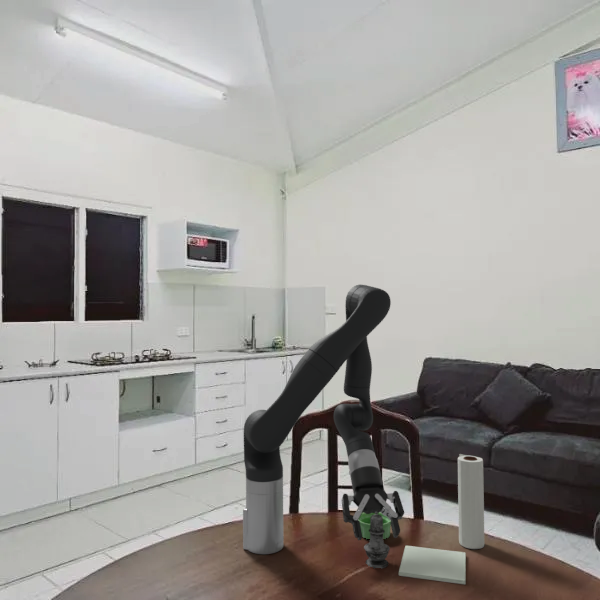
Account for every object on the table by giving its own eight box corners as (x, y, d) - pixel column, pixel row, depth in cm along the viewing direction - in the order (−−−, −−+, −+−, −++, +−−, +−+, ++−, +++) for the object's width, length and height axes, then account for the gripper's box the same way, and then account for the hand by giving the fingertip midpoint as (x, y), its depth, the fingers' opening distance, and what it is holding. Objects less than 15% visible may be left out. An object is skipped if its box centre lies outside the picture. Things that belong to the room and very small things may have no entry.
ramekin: (353, 529, 144) (353, 512, 144) (386, 527, 145) (386, 510, 145) (361, 543, 135) (361, 525, 135) (396, 541, 136) (396, 523, 136)
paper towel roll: (483, 551, 130) (482, 462, 130) (457, 547, 132) (456, 459, 132) (485, 539, 136) (484, 454, 137) (460, 536, 139) (459, 452, 139)
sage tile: (398, 575, 118) (398, 571, 118) (405, 548, 132) (405, 545, 132) (465, 584, 114) (465, 580, 114) (465, 555, 127) (465, 552, 127)
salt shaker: (389, 570, 121) (388, 516, 121) (363, 568, 122) (362, 514, 122) (390, 558, 126) (389, 507, 127) (365, 556, 128) (364, 505, 128)
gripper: (339, 466, 131) (350, 532, 119) (395, 463, 133) (412, 528, 121) (334, 481, 136) (345, 546, 125) (389, 478, 138) (404, 542, 127)
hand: (378, 537), depth 123 cm, fingers open, 8 cm apart
